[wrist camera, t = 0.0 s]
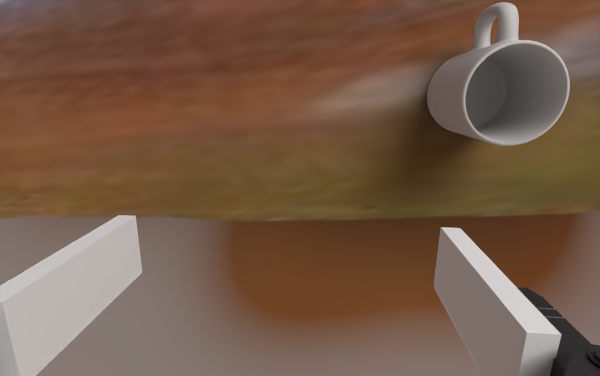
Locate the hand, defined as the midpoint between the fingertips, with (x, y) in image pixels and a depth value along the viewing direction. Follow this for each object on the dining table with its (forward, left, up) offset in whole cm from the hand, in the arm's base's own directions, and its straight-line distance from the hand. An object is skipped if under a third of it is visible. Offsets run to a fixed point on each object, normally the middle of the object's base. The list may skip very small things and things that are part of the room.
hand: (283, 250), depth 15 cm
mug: (-8, +17, -28) cm, 34 cm away
